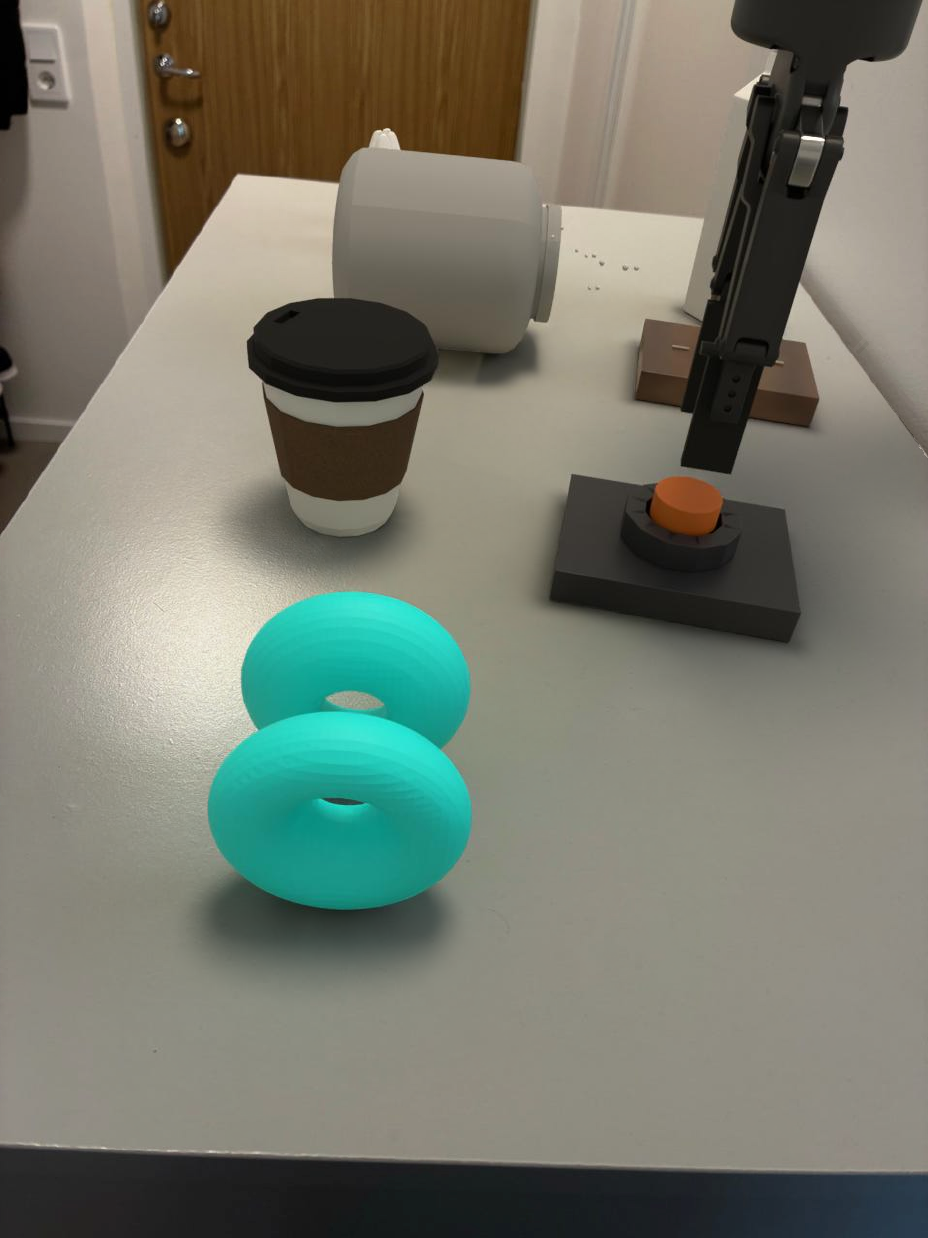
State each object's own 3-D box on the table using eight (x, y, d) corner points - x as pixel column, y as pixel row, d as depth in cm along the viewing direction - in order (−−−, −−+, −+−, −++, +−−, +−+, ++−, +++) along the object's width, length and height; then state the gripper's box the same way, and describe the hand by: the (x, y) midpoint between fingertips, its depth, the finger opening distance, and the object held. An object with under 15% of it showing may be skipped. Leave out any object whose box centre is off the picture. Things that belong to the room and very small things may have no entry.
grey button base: (775, 536, 63) (793, 485, 60) (789, 642, 55) (811, 587, 52) (566, 501, 64) (575, 449, 62) (548, 599, 56) (559, 544, 53)
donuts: (212, 918, 38) (186, 750, 32) (254, 734, 46) (240, 569, 39) (460, 929, 39) (484, 766, 32) (460, 746, 46) (480, 585, 40)
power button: (714, 506, 58) (722, 481, 57) (716, 542, 55) (724, 517, 54) (650, 495, 59) (656, 471, 58) (648, 531, 56) (654, 505, 55)
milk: (722, 335, 89) (794, 67, 74) (681, 310, 93) (741, 50, 78) (770, 326, 91) (848, 65, 77) (728, 302, 95) (794, 49, 81)
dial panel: (797, 369, 84) (806, 340, 82) (809, 426, 76) (820, 396, 74) (639, 344, 85) (645, 316, 83) (635, 399, 77) (641, 368, 75)
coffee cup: (222, 529, 58) (204, 344, 51) (309, 450, 66) (305, 280, 59) (383, 580, 56) (390, 393, 48) (453, 492, 64) (469, 319, 56)
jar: (376, 223, 90) (645, 223, 85) (362, 378, 89) (632, 386, 84) (307, 108, 71) (647, 99, 66) (290, 302, 71) (630, 307, 66)
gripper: (997, -31, 31) (785, 542, 46) (898, -69, 46) (760, 378, 60) (767, -58, 32) (631, 516, 47) (741, -87, 46) (643, 359, 61)
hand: (704, 437), depth 54 cm, fingers open, 6 cm apart
